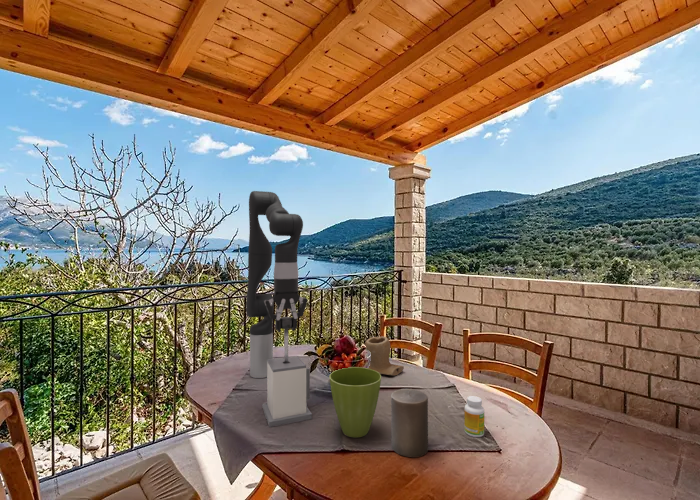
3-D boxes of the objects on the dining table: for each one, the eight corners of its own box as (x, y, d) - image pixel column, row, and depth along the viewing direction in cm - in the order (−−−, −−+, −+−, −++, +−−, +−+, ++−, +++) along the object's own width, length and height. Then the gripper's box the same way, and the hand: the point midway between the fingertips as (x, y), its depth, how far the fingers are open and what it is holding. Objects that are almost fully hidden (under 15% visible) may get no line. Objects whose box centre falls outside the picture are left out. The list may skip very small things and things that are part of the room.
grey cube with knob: (262, 408, 116) (262, 358, 115) (303, 401, 121) (303, 353, 121) (269, 427, 104) (269, 371, 103) (315, 418, 109) (315, 365, 109)
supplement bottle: (482, 439, 97) (482, 404, 97) (462, 434, 100) (462, 400, 100) (486, 431, 102) (486, 397, 101) (466, 426, 104) (467, 393, 104)
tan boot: (359, 374, 146) (359, 338, 146) (372, 366, 157) (372, 332, 157) (393, 381, 139) (393, 343, 139) (404, 372, 149) (404, 336, 149)
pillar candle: (435, 454, 90) (435, 395, 90) (400, 460, 87) (400, 400, 87) (417, 435, 99) (417, 382, 100) (385, 440, 97) (385, 385, 97)
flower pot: (322, 423, 106) (322, 370, 105) (366, 414, 111) (367, 364, 111) (340, 450, 92) (340, 389, 92) (390, 438, 98) (390, 380, 98)
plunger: (271, 374, 114) (271, 316, 114) (295, 371, 117) (295, 314, 117) (276, 383, 107) (276, 321, 107) (301, 379, 110) (301, 319, 110)
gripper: (304, 275, 118) (304, 326, 118) (261, 276, 112) (261, 330, 113) (311, 277, 111) (311, 331, 111) (265, 278, 105) (265, 335, 106)
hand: (286, 330), depth 112 cm, fingers closed on plunger, 4 cm apart
